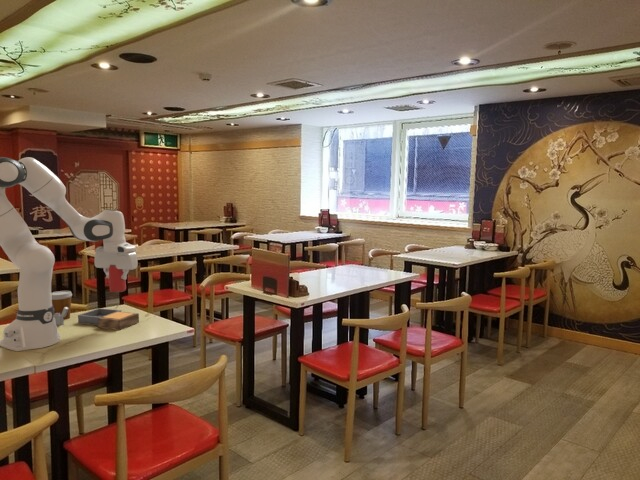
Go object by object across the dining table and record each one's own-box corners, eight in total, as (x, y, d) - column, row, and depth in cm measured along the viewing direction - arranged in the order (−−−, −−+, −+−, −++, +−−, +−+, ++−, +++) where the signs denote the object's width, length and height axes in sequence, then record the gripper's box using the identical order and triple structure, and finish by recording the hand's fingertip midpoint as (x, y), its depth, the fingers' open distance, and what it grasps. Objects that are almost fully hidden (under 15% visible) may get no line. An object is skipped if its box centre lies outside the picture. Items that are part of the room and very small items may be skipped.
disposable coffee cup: (54, 316, 224) (52, 291, 222) (76, 315, 225) (75, 290, 224) (47, 322, 214) (45, 295, 213) (70, 320, 216) (68, 294, 215)
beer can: (120, 293, 205) (119, 265, 203) (106, 292, 206) (104, 264, 204) (129, 289, 211) (127, 262, 210) (115, 289, 212) (114, 262, 211)
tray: (78, 322, 213) (77, 315, 212) (99, 315, 225) (99, 308, 224) (101, 325, 209) (100, 317, 208) (121, 317, 221) (121, 310, 220)
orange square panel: (102, 319, 207) (102, 317, 206) (117, 314, 215) (117, 311, 215) (119, 321, 204) (119, 319, 204) (134, 316, 212) (134, 313, 212)
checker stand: (98, 327, 206) (97, 318, 206) (117, 320, 217) (117, 311, 217) (120, 329, 202) (120, 320, 202) (139, 322, 213) (138, 313, 213)
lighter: (52, 325, 209) (51, 307, 209) (55, 324, 211) (54, 306, 210) (67, 325, 209) (66, 307, 208) (70, 324, 210) (69, 306, 209)
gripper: (89, 247, 206) (91, 278, 208) (129, 248, 200) (130, 281, 201) (100, 245, 212) (102, 276, 214) (139, 247, 206) (140, 278, 207)
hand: (116, 278), depth 207 cm, fingers closed on beer can, 6 cm apart
